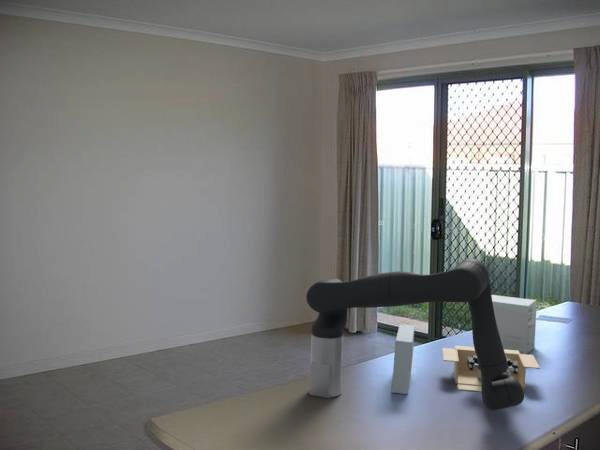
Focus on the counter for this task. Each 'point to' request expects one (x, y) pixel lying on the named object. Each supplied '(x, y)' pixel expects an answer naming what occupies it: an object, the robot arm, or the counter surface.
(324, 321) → the robot arm
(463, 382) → the carton
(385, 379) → the counter surface
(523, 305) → the supplement box
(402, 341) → the skincare box
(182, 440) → the counter surface
